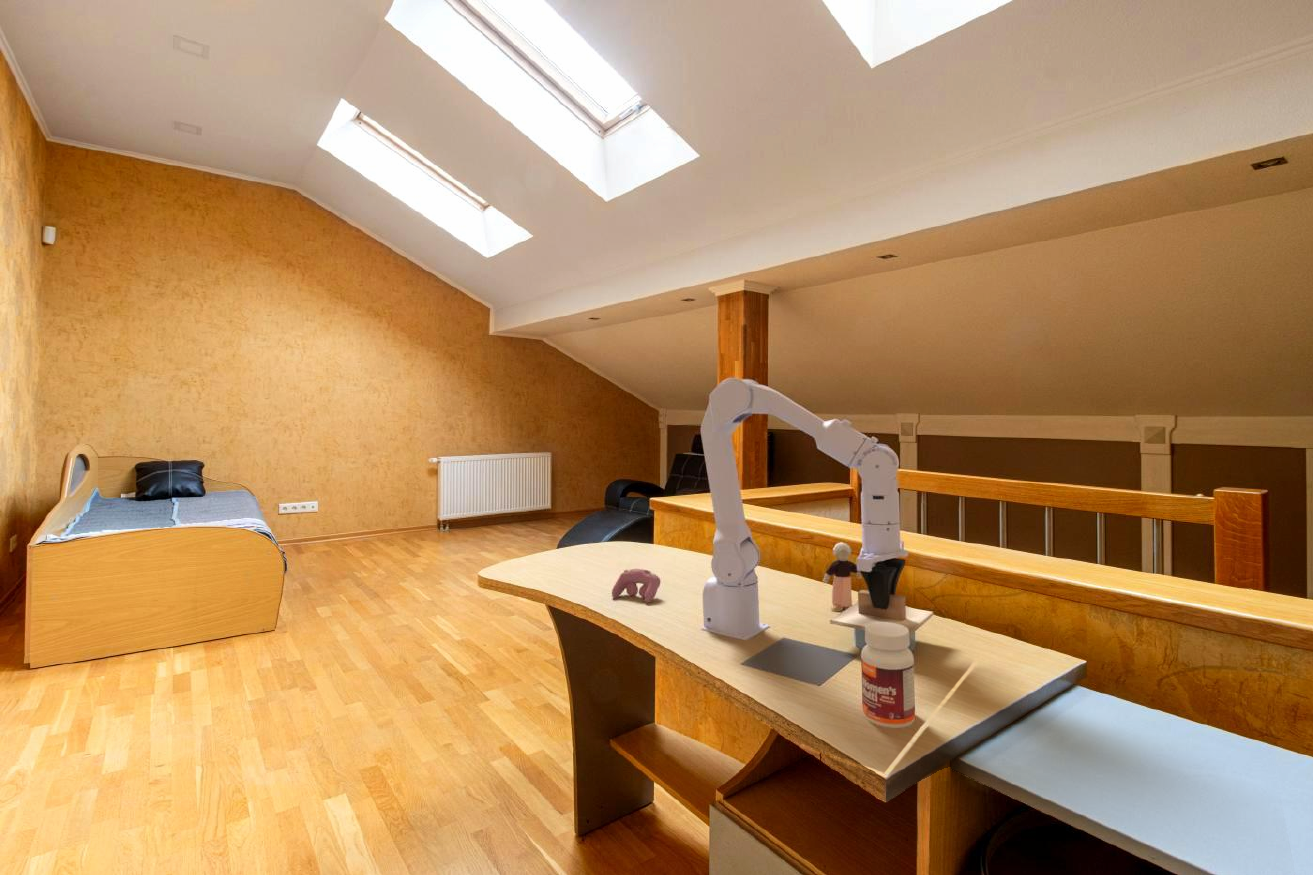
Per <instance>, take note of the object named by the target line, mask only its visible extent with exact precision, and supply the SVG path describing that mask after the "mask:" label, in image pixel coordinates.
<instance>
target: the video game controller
mask: <svg viewBox="0 0 1313 875" xmlns="http://www.w3.org/2000/svg"><path fill="white" fill-rule="evenodd" d="M638 584H642V585H641V586H640V587H638ZM660 585H661V578H660V577H659V575H657V574H655V573H654V572H652V571H650V570H647V569H643V568H633V569H625V570H624V571H623V572H621V573H620V575H619V577H618V579H617V580H616V582H615V584H614V586H613V588H612V589H611V590H612V591H611V597H612V598H613V599H617V598H618V597H620V596H621V594H623V592H624V590H625V589H626V593H627V595H628V596H631V597H634V596H636V595H637V594H638V595H639V596H640V597H642V598H644V601H645V603H646V604H649V603H651V602H652V601H653V600H654V598H655V596H656V595H657V592H658V589H659V588H660V587H661V586H660ZM638 588H639V589H638Z"/></svg>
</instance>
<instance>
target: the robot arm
mask: <svg viewBox="0 0 1313 875" xmlns="http://www.w3.org/2000/svg"><path fill="white" fill-rule="evenodd" d="M708 395H709V396H708V397H709V398H708V399H709V400H708V405H707V409H706V411H705V414H704V417H703V419H702V422H701V426H700V436H701V443H702V449H703V455H704V461H705V467H706V473H707V478H708V486H709V492H710V498H711V503H712V508H713V509H712V510H713V516H714V522H715V532H714V538H713V541H712V546H713V555H712V558H711V562H710V568H711V571H712V574H713V576H711V577H709V578H708V579H707V581H706V582H705V584H704V585H703V586H704V587H703V590H702V608H703V609H702V611H703V613H702V614H703V626H701V627H700V629H701V630H702V631H707V632H709V633H714V634H718V635H722V636H726V637H730V638H734V639H739V640H741V641H742V640H743V641H748V640H750V639H751V638H753V637H754V636H756V635H758V634H760V633H762V632H763V631H765V630H767V629H769V628H770V624H767V623H763V622H760V606H759V604H760V601H759V599H760V598H759V581H758V580H759V577H758V575H757V573H756V570H755V569H756V567H758V565H759V563H760V559H761V553H760V549H759V547H758V545H757V544H756V542H755V541H754V538H753V536H752V531H751V529H750V527H749V525H747V523H746V517H745V513H744V512H745V510H744V504H743V498H742V494H741V492H742V491H741V487H740V486H741V485H740V481H739V476H738V468H737V462H736V455H735V450H734V449H735V448H734V443H733V438H732V435H733V433H734V432H735V431H736V430H737V428H739V426H740V425H741V424H742V423H743V421H744V420H746V419H747V418H748V417H751V416H752V415H753V414H756V415H757V414H760V415H772V416H775V417H777V418H778V419H780V420H782V421H783V422H785V423H787V424H789V425H791V426H793V427H795V428H796V429H798V430H800V431H802V432H803V433H805V434H806V435H809V436H811V437H812V438H813V439H814V441H815V444H816V449H817V450H819V451H821V452H822V453H824V454H825V455H827V456H829V457H831V458H832V459H834V460H836V461H838V462H839V463H840V464H842V465H843V466H846V467H848V468H849V469H850V470H853V469H854V470H855V469H856V470H857V473H858V476H859V477H860V479H861V493H860V505H861V506H860V509H861V510H860V511H861V516H860V517H861V540H862V541H861V543H862V544H861V545H862V547H861V548H860V553H859V555H858V556H857V557H856V565H857V570H858V571H860V574H861V575H862V578H863V580H864V582H865V584H866V587H867V591H869V594H870V597H871V601H872V604H873V607H874V608H880V609H887V608H888V605H889V598H890V594H893V595H896V592H897V586H898V584H899V583H898V582H899V579H900V577H901V574H902V572H903V570H904V568H905V567H906V559H903V558H906V557H908V556H909V550H907V549H905V541H903V540H901V522H900V519H901V516H900V515H901V514H900V493H899V491H898V488H899V481H898V478H897V477H898V476H897V474H898V471H899V466H900V461H899V456H898V455H897V453H896V452H895V451H894V449H892V448H890V446H889V444H884V443H877V442H878V441H879V439H878V438H876V437H875V436H872V437H868V436H867V435H866V434H864V433H862V432H860V431H859V430H857V429H855V428H853V427H852V422H851V421H849V420H847V419H843V420H842V421H841V420H839V419H838V418H834V419H830V420H824V419H822V418H821V417H819V416H817V415H816V414H814V413H812V412H811V411H809V410H808V409H806V408H805V407H803V406H802V405H800V404H798V403H796V401H793V400H792V399H791V398H789V397H788V396H786V395H784V394H783V393H781V392H779V391H777V390H775V389H773V388H771V387H769V386H767V385H763V384H759V382H757V381H756V380H754V379H749V378H743V379H741V378H737V377H729V378H726V379H724V380H722V381H720V382H719V384H717V386H716V387H715V388H714V389H713V390H712V391H711V392H710V394H708Z"/></svg>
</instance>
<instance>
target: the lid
mask: <svg viewBox="0 0 1313 875" xmlns="http://www.w3.org/2000/svg"><path fill="white" fill-rule="evenodd" d="M933 616H934V611H930V610H923V609H920V608H919V609H918V608H912V607H906V596H905V595H899V594H898V595H897V594H895V595H893V594H890V598H889V605H888V608H887V609H880V608H874V607H873V604H872V601H871V597H870V594H869V590H868V589H860V590H859V591H858V592H857V602H856V603H854V604H852V606H851V607H849V608H848V609H844V610H842V612H840V613H839V614H837V615H835V616H834V617H832V618H831V619H829V623H830V624H831V625H835V626H836V625H837V626H840V627H845V628H846V627H847V628H852V629H854V628H855V629H861V630H865V627H866V625H868V624H870V623H875V622H890V623H896V624H900V625H903V626H905V627H906V628H908V630H909V636H910V635H912V634H913V633H914V632H915V633H916V631H918V630H919V629H920V628H921V627H922V626H923V625H924V624H925V623H926V622H928V621H929V620H930V619H931V618H932V617H933Z"/></svg>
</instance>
